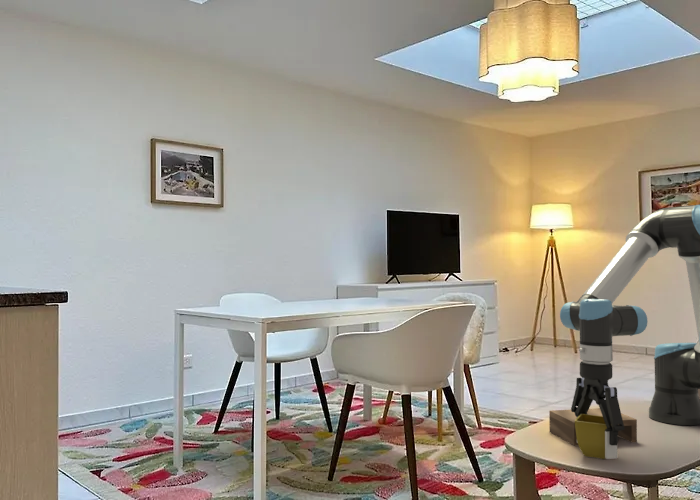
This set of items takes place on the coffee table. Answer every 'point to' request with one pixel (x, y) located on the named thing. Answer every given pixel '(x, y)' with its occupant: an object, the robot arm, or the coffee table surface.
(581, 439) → the flower pot
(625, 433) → the walnut shelf
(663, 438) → the coffee table surface
